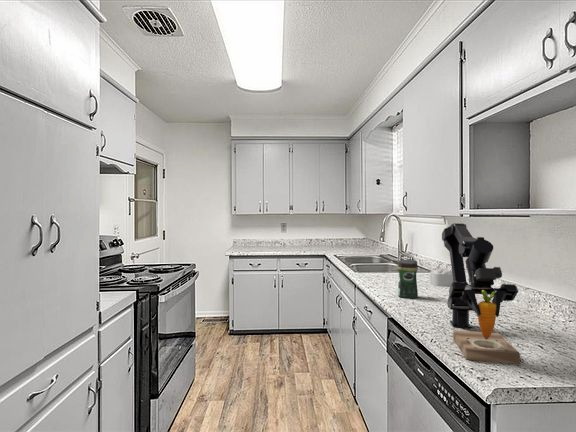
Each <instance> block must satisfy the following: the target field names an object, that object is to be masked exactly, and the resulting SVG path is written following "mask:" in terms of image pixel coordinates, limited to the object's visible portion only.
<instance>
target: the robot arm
mask: <svg viewBox="0 0 576 432" xmlns="http://www.w3.org/2000/svg"><path fill="white" fill-rule="evenodd" d="M441 240H442V241H443V245H444V247H445V248H446V249H447V250H448V252H449V258H450V266H451V272H452V274H453V282H452V284H451V286H449V289H448V294H449V295H448V299H447V303H446V304H447V308H448V309H449V311H451V313H452V316H451V317H452V319H451V320H449V323H450V324H451V326H452V327H453V328H464V329H465V328H466V329H472V328H473V326H472V325H471V324H470V311H472V312H474V313H475V315H477V317H478V316H480V310H479V307H478V301H477V300H478V299H477V297H476V295H483V294H482V290H484V291H486V293H487V295H488V296H490V295H491V293H492V292H495V294H494V297H493V298H492V299H491V302H492V303H494V304H495V305H496V318H499V316H500V311H501V310H500V309H501V303H503V302H512V301H514V300H515V298H516V296H517V294H518V293H519V289H518V287H517V285H516V284H513V283H501V285H500V287H499V288H498V287H497V288H496V287H492V286H494V284H495V280H497V279H501V278H502V277H503V271H502V269H501V266H494V267H493V268H491V267H490V268H489V267H487V264H486V263H489V260H490V257H491V255H492V253H493V251H494V245H493V244H492V243H491V242H490V241H488V240H486V239H485V237H483V236H476V237H474V236H473V235H472V234H471V233H470V231H469V229H468V227H467V224H466V223H451V224H450V226H447V227H446V228H444V229H443V230H442V233H441ZM464 258H466V259H465V263H464ZM465 269H466V270H467V275H468V282H467V276H466V270H465ZM469 283H470V284H469Z"/></svg>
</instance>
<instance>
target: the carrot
mask: <svg viewBox="0 0 576 432" xmlns="http://www.w3.org/2000/svg"><path fill="white" fill-rule="evenodd" d="M494 294H495V292H492V293H491V295H487V293H486V291H484V290H482V294H481V295H482V299H483V300H482V301H480V302H477V304H478V307H479V310H480V316H478V315H477V319H478V326H479V329H480V332H482V334H483V336H484V338H485V339H486V340H487V339H488V338H489V337H490V335H491V334H492V333H493V332H494V328H495V324H496V320H497V319H496V318H497V317H496V305H495V304H494V303H492V300H493V297H494Z"/></svg>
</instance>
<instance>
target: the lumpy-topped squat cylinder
mask: <svg viewBox="0 0 576 432" xmlns="http://www.w3.org/2000/svg"><path fill="white" fill-rule="evenodd" d="M429 277H430V278H429V283H430V285H432V286H433V287H444V288H445V287H450V286H451V284H452V282H453V274H452V270H449V269H442V268H438V269H434V270H431V271H430V276H429Z"/></svg>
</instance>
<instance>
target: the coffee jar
mask: <svg viewBox="0 0 576 432" xmlns="http://www.w3.org/2000/svg"><path fill="white" fill-rule="evenodd" d="M418 268H419V267H418V262H417V260H416V259H399V260H398V264H397V270H398V285H397V296H398V297H400V298H403V299H415V298H418V296H419V293H418V282H417V273H418V270H419V269H418Z"/></svg>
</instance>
